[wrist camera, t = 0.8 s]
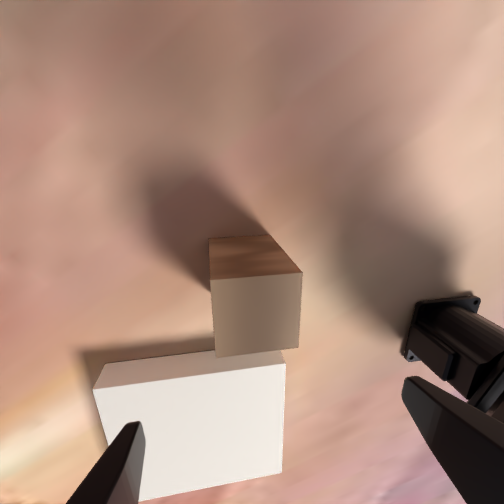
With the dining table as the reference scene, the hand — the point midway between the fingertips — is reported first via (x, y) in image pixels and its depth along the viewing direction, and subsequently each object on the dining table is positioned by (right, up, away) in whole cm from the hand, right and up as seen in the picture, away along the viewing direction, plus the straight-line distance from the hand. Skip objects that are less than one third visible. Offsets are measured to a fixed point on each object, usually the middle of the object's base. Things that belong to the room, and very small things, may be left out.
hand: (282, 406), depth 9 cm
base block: (-6, -9, +15) cm, 19 cm away
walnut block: (-2, +4, +11) cm, 12 cm away
